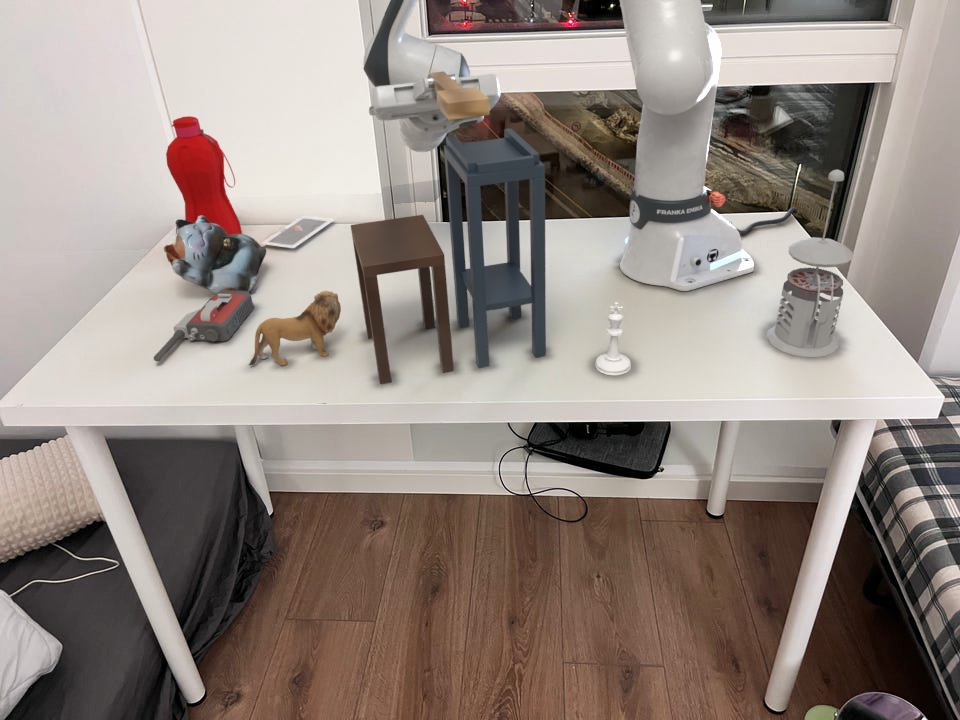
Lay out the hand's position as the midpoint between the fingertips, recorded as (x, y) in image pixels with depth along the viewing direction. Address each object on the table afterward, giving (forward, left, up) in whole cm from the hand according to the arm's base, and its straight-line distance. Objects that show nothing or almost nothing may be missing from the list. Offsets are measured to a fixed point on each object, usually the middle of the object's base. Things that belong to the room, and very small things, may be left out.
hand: (442, 80), depth 112 cm
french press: (-43, +36, -34) cm, 65 cm away
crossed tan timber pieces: (0, +6, -1) cm, 6 cm away
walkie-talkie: (+41, +4, -34) cm, 53 cm away
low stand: (+12, +20, -33) cm, 41 cm away
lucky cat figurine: (+39, -13, -34) cm, 53 cm away
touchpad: (+25, -31, -34) cm, 52 cm away
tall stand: (-2, +21, -33) cm, 39 cm away
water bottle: (+40, -31, -34) cm, 61 cm away
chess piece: (-15, +33, -34) cm, 49 cm away
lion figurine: (+27, +15, -34) cm, 46 cm away
